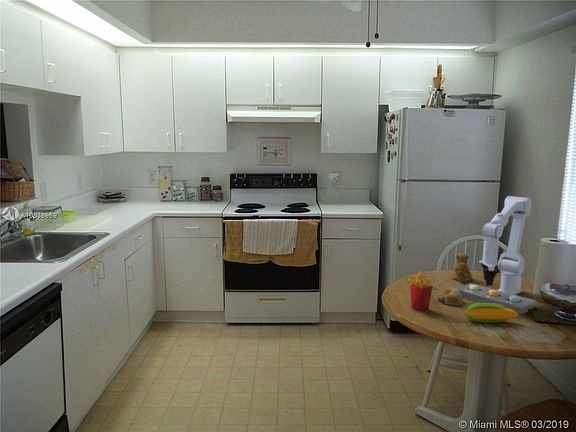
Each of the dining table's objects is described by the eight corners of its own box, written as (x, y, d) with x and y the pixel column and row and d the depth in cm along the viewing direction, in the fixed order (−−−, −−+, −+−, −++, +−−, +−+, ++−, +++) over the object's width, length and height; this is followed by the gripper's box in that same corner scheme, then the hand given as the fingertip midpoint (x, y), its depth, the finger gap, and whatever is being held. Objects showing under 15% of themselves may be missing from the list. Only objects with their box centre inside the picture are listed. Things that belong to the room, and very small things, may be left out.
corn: (463, 298, 185) (515, 300, 184) (461, 316, 187) (512, 318, 186) (469, 306, 178) (523, 308, 177) (467, 325, 180) (520, 326, 179)
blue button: (511, 301, 201) (512, 294, 200) (521, 303, 198) (521, 297, 197) (507, 303, 198) (507, 296, 198) (516, 305, 195) (517, 299, 195)
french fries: (431, 309, 194) (434, 274, 192) (419, 313, 190) (421, 277, 187) (414, 303, 201) (416, 269, 199) (401, 307, 196) (403, 272, 194)
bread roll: (458, 314, 199) (468, 299, 197) (436, 303, 200) (446, 287, 198) (455, 306, 208) (464, 291, 207) (434, 295, 210) (443, 280, 208)
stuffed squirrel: (470, 277, 241) (472, 252, 239) (474, 285, 227) (476, 258, 225) (449, 275, 243) (451, 250, 241) (452, 283, 229) (454, 257, 227)
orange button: (491, 295, 208) (491, 289, 207) (500, 298, 205) (500, 291, 204) (486, 297, 205) (487, 290, 205) (495, 300, 202) (496, 293, 202)
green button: (472, 290, 215) (472, 284, 214) (480, 292, 212) (481, 286, 211) (467, 292, 212) (468, 285, 212) (475, 294, 209) (476, 287, 209)
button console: (469, 289, 221) (470, 282, 221) (535, 307, 198) (536, 300, 198) (453, 295, 212) (453, 288, 212) (520, 315, 190) (521, 307, 189)
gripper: (478, 247, 208) (476, 276, 210) (482, 255, 194) (479, 286, 196) (496, 248, 206) (493, 278, 208) (500, 256, 192) (498, 288, 194)
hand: (488, 282), depth 202 cm, fingers open, 7 cm apart
